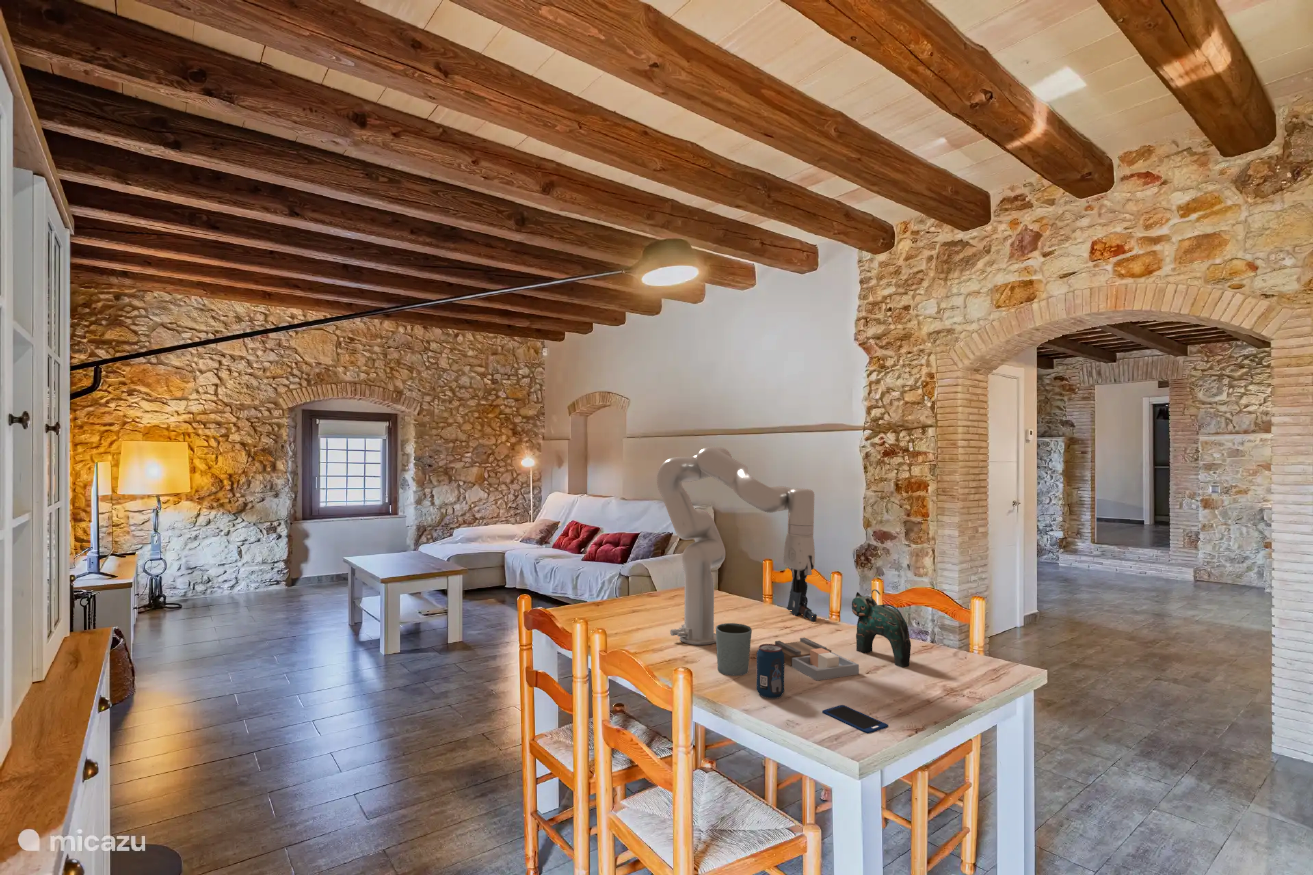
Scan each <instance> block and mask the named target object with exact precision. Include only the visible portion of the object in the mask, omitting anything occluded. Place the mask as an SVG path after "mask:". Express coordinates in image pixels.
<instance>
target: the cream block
mask: <svg viewBox="0 0 1313 875" xmlns="http://www.w3.org/2000/svg"><path fill="white" fill-rule="evenodd" d="M839 656H840V655H839ZM839 656H836V655H834V654H832V652H831V653H830V652H829V653H822V654H818V669H823V668H830V667H836V666H839Z"/></svg>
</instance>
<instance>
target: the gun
mask: <svg viewBox="0 0 1313 875" xmlns="http://www.w3.org/2000/svg"><path fill="white" fill-rule="evenodd" d="M807 593H808V583H807V581H805V592H802V593H796V592H793V578H792V579H791V585H790V591H789V597H788V602H787V606H786V610H787V611H789V610H792V611H789V612H790V613H791V614H792V615H793V616H795V617H796V616H797V617H798V616H803V618H804V619H809V620H810V622H812V623H814V622H816V621H817V618H818V616H817V614H816V613H814V612H812V611H813V610H812V609H811V608H809V607H808V598H807V597H808V596H807ZM812 616H813V617H812Z"/></svg>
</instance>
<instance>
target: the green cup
mask: <svg viewBox="0 0 1313 875" xmlns="http://www.w3.org/2000/svg"><path fill="white" fill-rule="evenodd" d="M752 631H753V630H752V628H751V627H750V626H749V625H746V624H744V623H743V624H742V623H738V622H737V623H735V622H728V623H720V624H718V625H716V626H715V634H716V652H717V653H716V660H717V661H716V662H717V663H716V664H717V671H718V673H720V674H722V675H725V676H730V677H731V676H732V677H739V676H744V675H746V674H748V673H749V666H750V665H749V662H750V652H751V639H752Z"/></svg>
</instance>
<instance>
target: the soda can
mask: <svg viewBox="0 0 1313 875" xmlns="http://www.w3.org/2000/svg"><path fill="white" fill-rule="evenodd" d="M755 679H756V682H755V683H756V687H755V688H756V691H757V693H758V695H759V696H760V697H762V698H763V699H769V700H773V699H774V700H775V699H780V698H782V696H783V694H784V692H785V663H784V653H783V651H782V647H781V646H779V645H775V643H774V644H773V643H763V644H760V645H759V646H758V650H757V652H756V678H755Z"/></svg>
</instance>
